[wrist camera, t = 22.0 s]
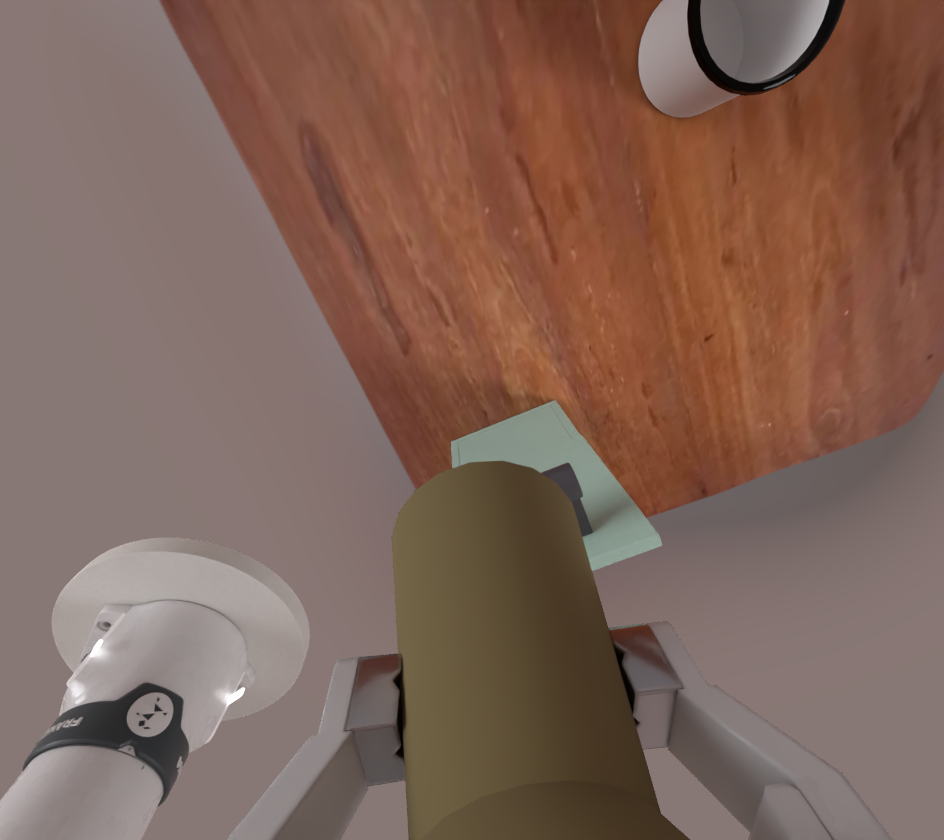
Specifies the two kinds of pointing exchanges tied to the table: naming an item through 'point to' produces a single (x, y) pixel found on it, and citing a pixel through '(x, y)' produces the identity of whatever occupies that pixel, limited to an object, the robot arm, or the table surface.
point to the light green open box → (515, 436)
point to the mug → (728, 49)
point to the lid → (596, 502)
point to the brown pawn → (511, 669)
